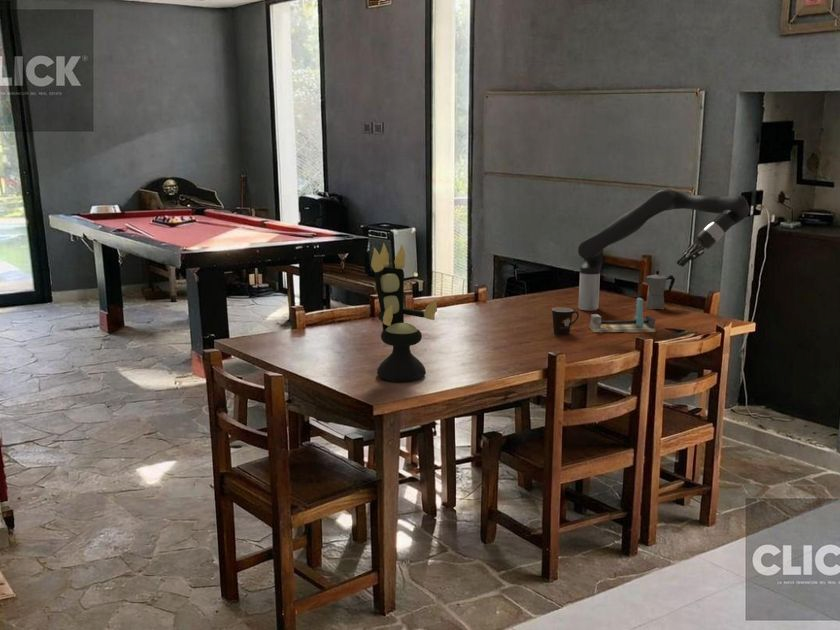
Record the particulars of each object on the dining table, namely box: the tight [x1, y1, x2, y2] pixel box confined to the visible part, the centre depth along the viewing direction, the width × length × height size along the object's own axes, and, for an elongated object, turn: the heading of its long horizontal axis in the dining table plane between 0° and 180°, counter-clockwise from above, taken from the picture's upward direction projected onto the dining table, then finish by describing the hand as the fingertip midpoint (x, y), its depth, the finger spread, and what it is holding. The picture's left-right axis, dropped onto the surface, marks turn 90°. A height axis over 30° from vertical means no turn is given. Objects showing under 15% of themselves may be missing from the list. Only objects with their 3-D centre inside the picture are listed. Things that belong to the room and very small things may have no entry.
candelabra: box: [370, 243, 438, 383], centre depth 287 cm, size 19×22×45 cm
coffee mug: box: [551, 307, 580, 336], centre depth 351 cm, size 12×9×10 cm
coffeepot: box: [643, 270, 676, 310], centre depth 400 cm, size 15×9×18 cm, turn 98°
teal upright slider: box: [633, 297, 645, 327], centre depth 357 cm, size 3×4×12 cm
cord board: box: [588, 313, 656, 334], centre depth 357 cm, size 26×8×6 cm, turn 94°
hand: (679, 264), depth 353 cm, fingers closed
